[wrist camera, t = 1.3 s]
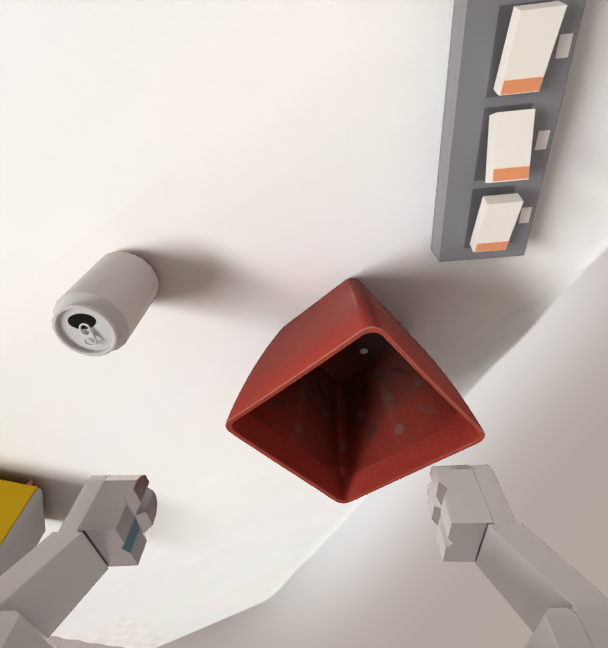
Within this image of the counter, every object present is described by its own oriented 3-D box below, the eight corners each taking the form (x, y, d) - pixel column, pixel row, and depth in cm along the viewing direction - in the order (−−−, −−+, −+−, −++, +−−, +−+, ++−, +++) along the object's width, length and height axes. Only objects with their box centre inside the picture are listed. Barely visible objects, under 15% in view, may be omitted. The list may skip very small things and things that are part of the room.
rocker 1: (513, 6, 29) (521, 11, 28) (558, 0, 29) (567, 5, 28) (493, 89, 33) (499, 96, 32) (532, 85, 33) (539, 92, 32)
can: (146, 243, 46) (100, 295, 36) (170, 297, 50) (135, 357, 40) (88, 253, 47) (27, 307, 37) (116, 306, 51) (68, 366, 41)
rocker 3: (482, 196, 37) (487, 205, 36) (518, 193, 36) (524, 202, 36) (469, 243, 41) (473, 253, 40) (500, 241, 41) (505, 250, 40)
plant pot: (335, 404, 60) (342, 508, 46) (244, 329, 53) (219, 427, 39) (443, 338, 53) (490, 439, 39) (355, 239, 45) (375, 321, 31)
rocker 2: (489, 115, 34) (496, 112, 33) (527, 111, 34) (536, 108, 33) (485, 182, 36) (491, 182, 35) (520, 179, 36) (529, 179, 34)
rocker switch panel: (464, -112, 29) (482, -132, 26) (591, -130, 28) (623, -152, 25) (430, 248, 45) (439, 262, 42) (510, 242, 45) (524, 255, 42)
